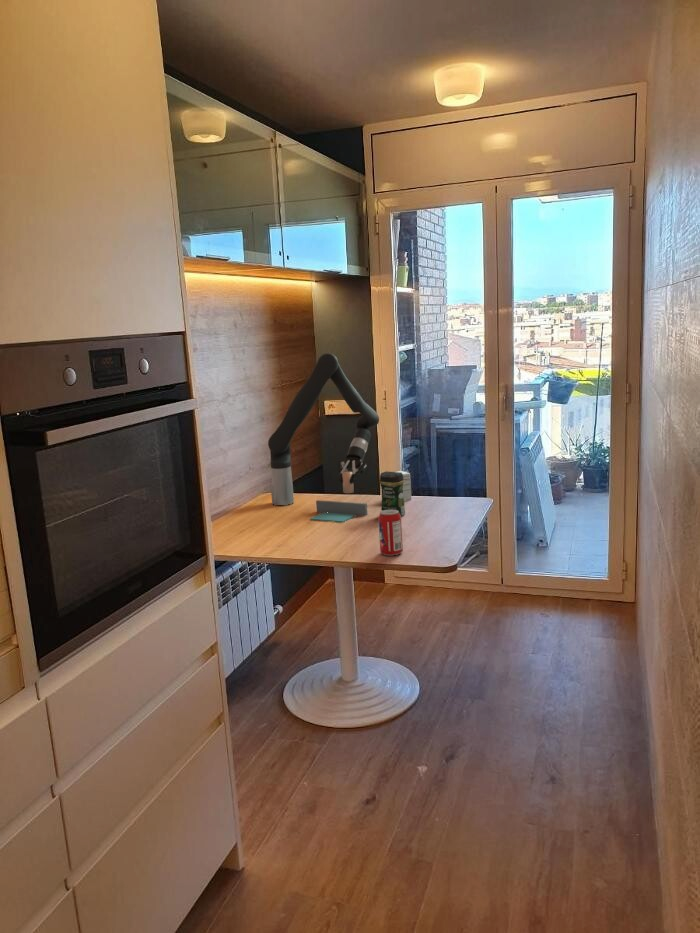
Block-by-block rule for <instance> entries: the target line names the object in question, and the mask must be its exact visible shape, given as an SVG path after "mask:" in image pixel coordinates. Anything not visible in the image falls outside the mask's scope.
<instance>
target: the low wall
mask: <svg viewBox="0 0 700 933" xmlns="http://www.w3.org/2000/svg"><path fill="white" fill-rule="evenodd" d="M315 504H316V507H315V508H316V513H320V512H328V513H341V514H355V515H356V516H361V515H363V516H365V517H367V516H368V503H367V502H366V503H365V502H351V501H350V502H349V501H337V500H336V501H335V500H319V499H317V500H316V502H315ZM363 516H362V517H363Z"/></svg>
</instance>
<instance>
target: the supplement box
mask: <svg viewBox="0 0 700 933" xmlns="http://www.w3.org/2000/svg"><path fill="white" fill-rule="evenodd" d="M396 472H400V473H402V474H403V479H404V483H403V498H404V501H405V502H408V501H409V500H410V501H412V486H411V485H412V484H411V483H412V482H411V473H410V472H407V471H403V470H398V471H396Z"/></svg>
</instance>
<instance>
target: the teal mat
mask: <svg viewBox="0 0 700 933" xmlns="http://www.w3.org/2000/svg"><path fill="white" fill-rule="evenodd" d="M355 517H357V515H355V514H341V513H327V512H323V513H319V514H317V515H315V516H312V517H310V518H309V520H310V519H311V520H310V521H316V520H322V521H321V522H328V521H335V522H334V523H341V522H344V523H346V522H348V521H349V520H351V519H353V518H355ZM347 520H348V521H347ZM345 521H346V522H345Z"/></svg>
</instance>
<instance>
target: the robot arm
mask: <svg viewBox="0 0 700 933" xmlns="http://www.w3.org/2000/svg"><path fill="white" fill-rule="evenodd" d="M329 379H330V380H331V381H332V383H333V384H334V385H335V387H336V388H337V390H338V392H339V394H340V395H341V397H342V398H343V400H344V402H345V403H346V405H347V406H348V407H349V409H350V410H351V412H352V413H355V414H356V413H357V414H360V415H361V416H359V417H358V419H357V421H356V426H355V427H356V428H355V434H354V436H353V439H352V441H351V443H350V446H349V447H348V451H347V454H346V457H345V459H344V461H341V460H338V462H337V473H338V474H339V478H338V481H339V483H340V484H343V477H342V472H343V471H353V474H352V476H351V478H350V483H351V484H353V485H354V484H355V482H356V479H357V477H362V475H363V473H364V472H365V471H366V469H367V467H368V465H367V463H366V462H364V459H365V456H366V452H367V450H368V447H369V446H368V445H369V443H370V440H371V438H372V433H371V432H370V429H373V428H374V427H376V426H377V425H379V422H380V417H379V415H378V412H376V410H374V409H373V408H372V407H371V406H370V405H369V404H368V403H367V402H366V401H365V400H364V399H363V397H362V396H361V395H360V393H359V392H358V391H357V389H356V388H355V387H354V385H353V384H352V383H351V382H350V380H349V379H348V378H347V375H346V374H345V372H344V371H343V369H342V367H341V365H340V363H339V360H338V358H337V356H336V355H335V354H334V353H331V352H325V353H323V354H321V355H320V356H319V357H318V360H317V362H316V364H315V367H314V368H313V371H312V373H311V374H310V376H309V378H308V379H307V380H306V381H305V383H304V384H303V385H302V386H301V388H300V389H299V390H298V392H297V393H296V395H294V398H293V399H292V401H291V403H290V404H289V407H288V408H287V411H286V413H285V414H284V417H283V419H282V422H280V424H279V426H278V427H276V428H277V429H276V430H275V431H274V432H273V433H272V434H271V435H270V437H269V438H268V441H267V445H268V449H269V454H270V471H271V472H270V473H271V474H270V475H271V484H270V492H271V494H270V495H271V505H272V506H274V505H275V506H277V505H284V506H289V505H288V504H290V505H293V504H294V503H295V498H294V487H293V475H292V474H293V473H292V460H291V459H292V457H291V456H292V455H291V443H290V442H291V440H292V439H293V437H294V435H295V433H296V432H297V430H298V428H300V426H301V425H302V423H303V422H304V421H305V420H306V418H307V417H308V415H309V414H310V413H311V411H312V410H313V407H314V406H315V405H316V403H317V401H318V399H319V397H320V395H321V393H322V390H323V388H324V386H325V384H326V383H327V382H328V381H329ZM292 503H293V504H292ZM273 504H274V505H273Z"/></svg>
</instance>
